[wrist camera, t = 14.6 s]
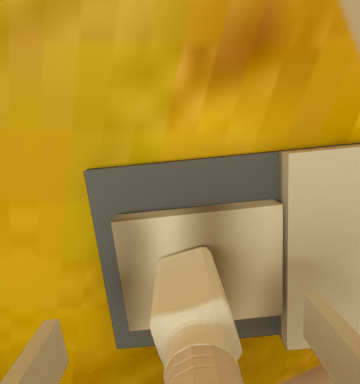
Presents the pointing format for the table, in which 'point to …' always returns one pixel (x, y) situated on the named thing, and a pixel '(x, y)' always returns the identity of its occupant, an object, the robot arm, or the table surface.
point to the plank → (218, 246)
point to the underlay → (243, 192)
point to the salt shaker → (194, 321)
